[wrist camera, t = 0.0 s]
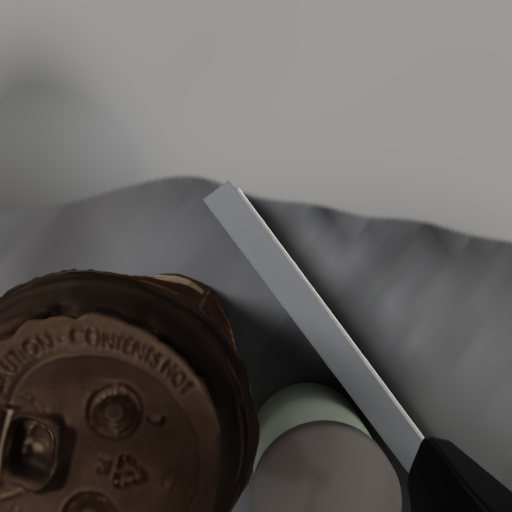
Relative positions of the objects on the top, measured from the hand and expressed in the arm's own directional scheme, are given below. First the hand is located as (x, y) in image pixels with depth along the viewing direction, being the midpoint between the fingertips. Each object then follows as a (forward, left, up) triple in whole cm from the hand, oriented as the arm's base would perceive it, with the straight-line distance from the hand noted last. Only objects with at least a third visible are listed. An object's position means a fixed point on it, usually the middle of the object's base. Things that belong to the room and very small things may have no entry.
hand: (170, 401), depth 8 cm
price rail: (+3, -11, -15) cm, 19 cm away
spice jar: (-1, -9, -16) cm, 18 cm away
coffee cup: (-3, 0, -16) cm, 16 cm away
